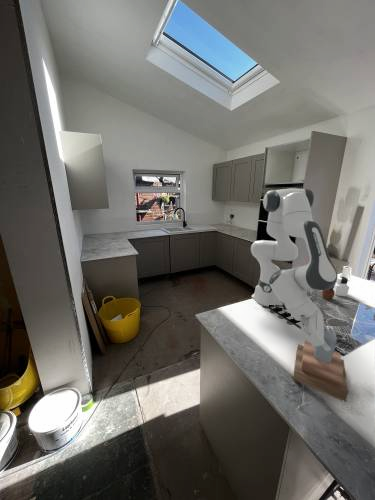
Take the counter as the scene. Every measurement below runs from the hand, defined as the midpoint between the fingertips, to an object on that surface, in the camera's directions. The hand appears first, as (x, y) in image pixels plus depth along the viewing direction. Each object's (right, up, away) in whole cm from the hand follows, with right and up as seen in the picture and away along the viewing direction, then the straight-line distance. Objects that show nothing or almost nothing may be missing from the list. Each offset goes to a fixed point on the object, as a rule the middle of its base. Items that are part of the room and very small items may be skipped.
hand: (328, 341), depth 74 cm
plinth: (-1, -15, +5) cm, 15 cm away
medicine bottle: (+52, +3, +66) cm, 84 cm away
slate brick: (-1, -7, +3) cm, 7 cm away
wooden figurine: (+40, +1, +60) cm, 72 cm away
